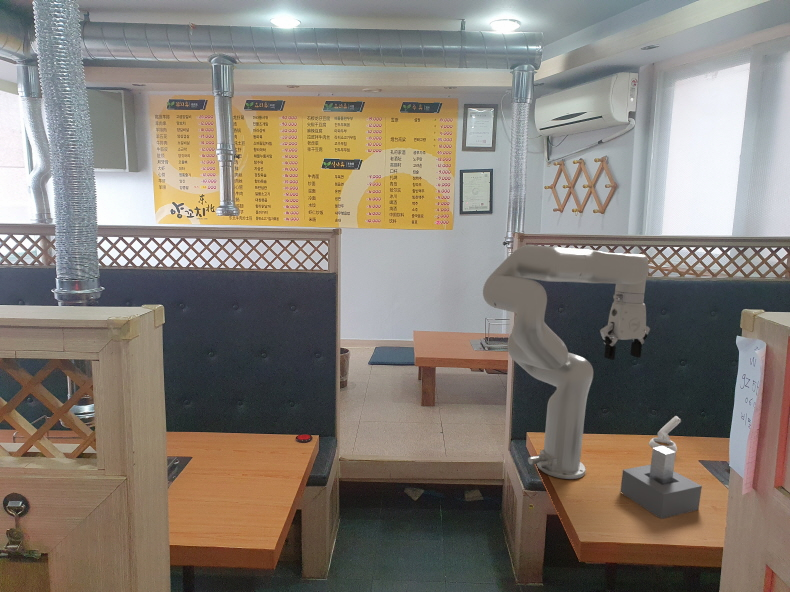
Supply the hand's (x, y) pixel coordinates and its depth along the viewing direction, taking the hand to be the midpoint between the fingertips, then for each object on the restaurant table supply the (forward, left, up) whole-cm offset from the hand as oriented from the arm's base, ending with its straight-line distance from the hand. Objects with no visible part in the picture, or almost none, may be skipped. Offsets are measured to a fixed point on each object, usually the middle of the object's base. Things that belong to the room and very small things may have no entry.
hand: (622, 357), depth 148 cm
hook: (+18, -2, -29) cm, 34 cm away
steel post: (-10, -25, -28) cm, 39 cm away
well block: (-10, -25, -28) cm, 39 cm away
